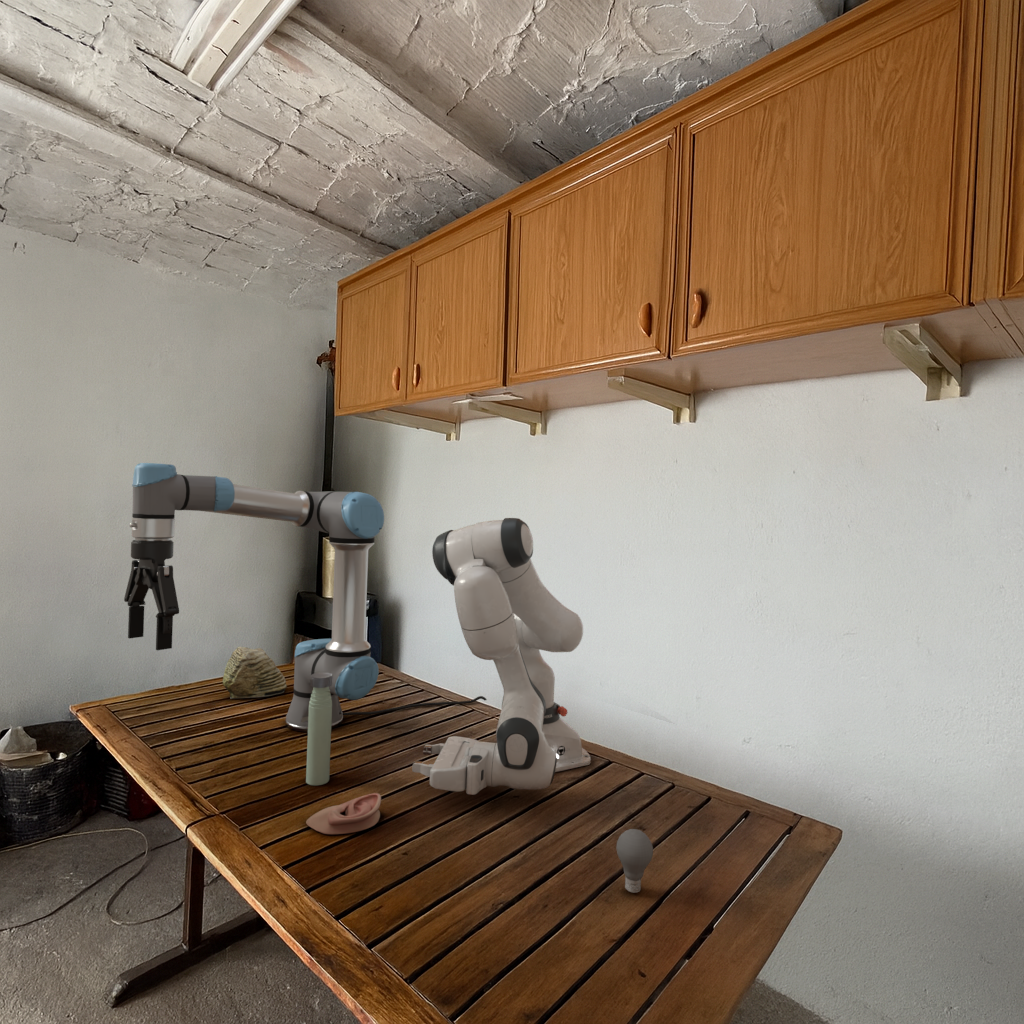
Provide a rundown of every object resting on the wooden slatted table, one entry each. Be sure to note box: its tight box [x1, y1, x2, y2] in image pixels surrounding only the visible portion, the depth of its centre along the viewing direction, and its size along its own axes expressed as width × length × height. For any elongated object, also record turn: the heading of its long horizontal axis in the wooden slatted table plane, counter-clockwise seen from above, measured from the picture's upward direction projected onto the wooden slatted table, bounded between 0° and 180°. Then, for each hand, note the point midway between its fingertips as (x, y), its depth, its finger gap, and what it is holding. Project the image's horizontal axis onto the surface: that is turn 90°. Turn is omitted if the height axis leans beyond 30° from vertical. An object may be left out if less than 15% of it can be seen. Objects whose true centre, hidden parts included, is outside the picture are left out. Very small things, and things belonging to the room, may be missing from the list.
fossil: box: [222, 646, 288, 699], centre depth 198 cm, size 9×18×15 cm, turn 132°
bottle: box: [305, 687, 332, 786], centre depth 141 cm, size 5×5×23 cm
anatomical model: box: [305, 792, 382, 835], centre depth 124 cm, size 13×4×12 cm
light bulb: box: [615, 828, 654, 894], centre depth 106 cm, size 6×6×10 cm
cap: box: [310, 672, 333, 688], centre depth 141 cm, size 5×5×2 cm
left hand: (149, 643), depth 129 cm, fingers open, 13 cm apart
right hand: (418, 757), depth 139 cm, fingers open, 8 cm apart
